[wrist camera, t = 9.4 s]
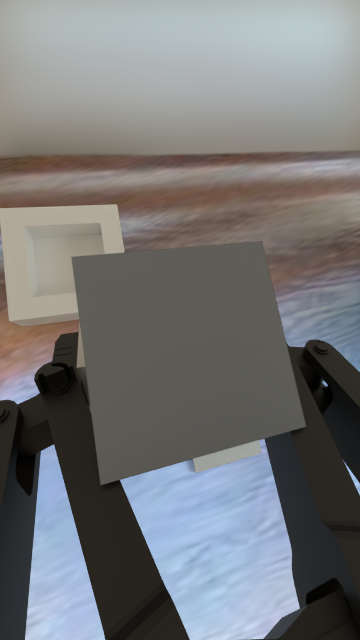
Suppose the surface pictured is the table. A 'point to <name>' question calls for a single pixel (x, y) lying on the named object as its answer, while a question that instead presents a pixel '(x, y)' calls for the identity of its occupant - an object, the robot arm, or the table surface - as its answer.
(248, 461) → the table surface
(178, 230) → the table surface
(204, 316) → the charcoal pillar
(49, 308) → the socket base
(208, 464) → the card
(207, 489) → the table surface
